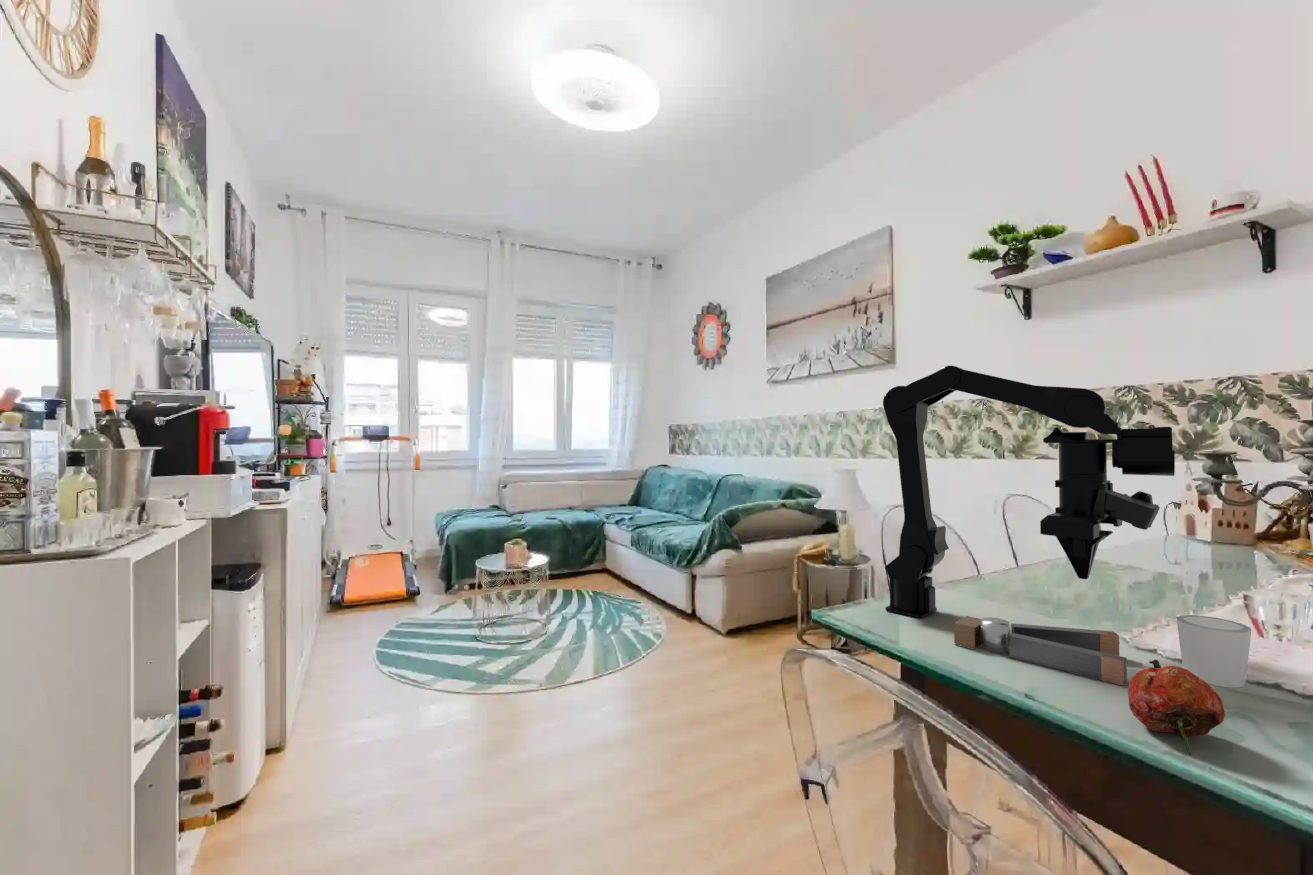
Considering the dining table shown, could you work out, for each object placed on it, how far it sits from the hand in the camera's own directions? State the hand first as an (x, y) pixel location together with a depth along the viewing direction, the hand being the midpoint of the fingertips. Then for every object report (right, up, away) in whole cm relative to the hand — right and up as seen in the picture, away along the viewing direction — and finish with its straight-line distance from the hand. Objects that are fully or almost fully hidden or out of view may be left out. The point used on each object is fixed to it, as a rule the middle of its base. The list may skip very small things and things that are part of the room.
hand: (1083, 578), depth 85 cm
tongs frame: (-11, -10, -6) cm, 16 cm away
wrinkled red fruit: (-10, -10, -27) cm, 30 cm away
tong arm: (-6, -9, -4) cm, 12 cm away
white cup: (+7, -10, -13) cm, 17 cm away
